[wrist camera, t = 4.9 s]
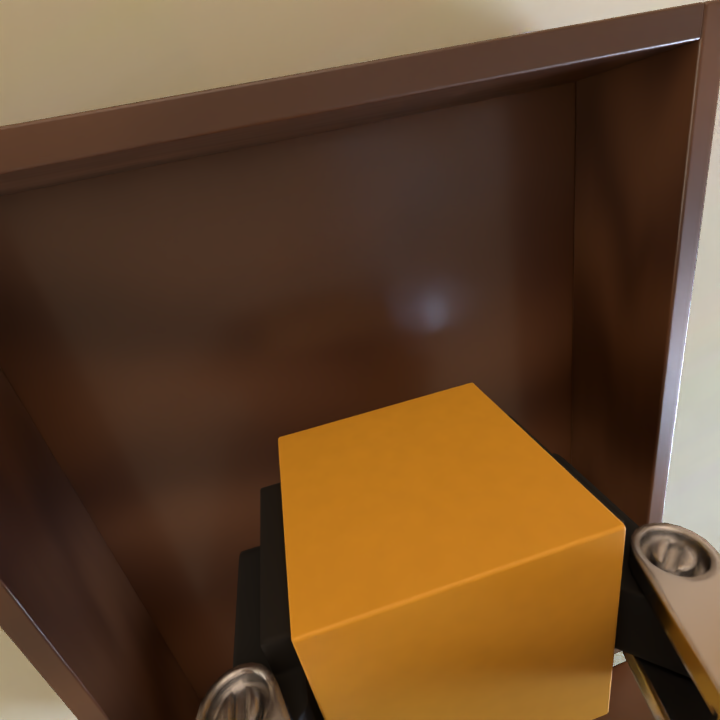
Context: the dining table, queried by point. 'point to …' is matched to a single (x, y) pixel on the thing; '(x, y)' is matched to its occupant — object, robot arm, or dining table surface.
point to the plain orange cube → (447, 567)
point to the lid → (625, 697)
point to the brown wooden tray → (326, 310)
